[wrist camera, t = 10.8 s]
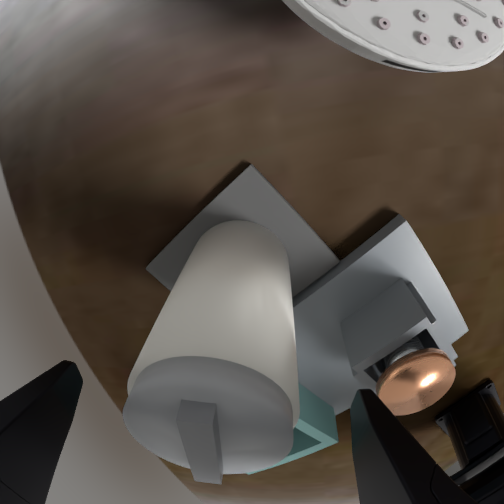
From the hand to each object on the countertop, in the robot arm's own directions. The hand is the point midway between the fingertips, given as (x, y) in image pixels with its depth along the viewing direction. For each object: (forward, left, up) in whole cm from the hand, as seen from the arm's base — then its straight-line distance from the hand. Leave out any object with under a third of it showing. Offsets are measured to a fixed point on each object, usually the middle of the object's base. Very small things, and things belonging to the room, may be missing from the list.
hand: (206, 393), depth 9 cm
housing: (-9, +2, -9) cm, 13 cm away
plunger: (-9, -4, -8) cm, 12 cm away
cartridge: (0, 0, -8) cm, 8 cm away
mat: (0, 0, -9) cm, 9 cm away
